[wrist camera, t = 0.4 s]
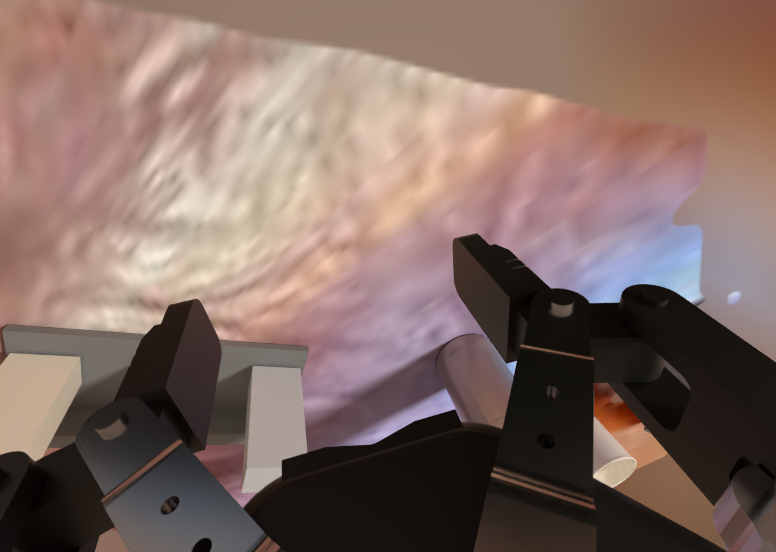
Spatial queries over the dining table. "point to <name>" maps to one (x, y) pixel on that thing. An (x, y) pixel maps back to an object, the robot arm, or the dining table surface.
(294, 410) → the tile three
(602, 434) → the candle holder
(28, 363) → the tile one
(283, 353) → the tile stand
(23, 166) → the dining table surface
